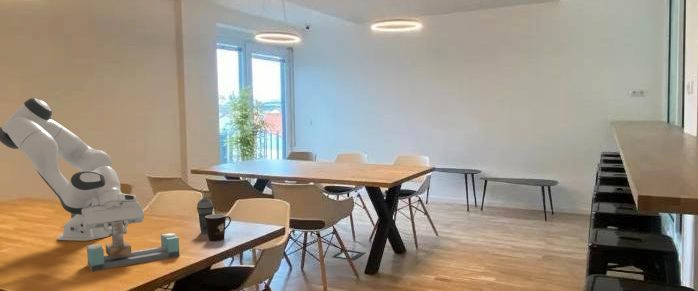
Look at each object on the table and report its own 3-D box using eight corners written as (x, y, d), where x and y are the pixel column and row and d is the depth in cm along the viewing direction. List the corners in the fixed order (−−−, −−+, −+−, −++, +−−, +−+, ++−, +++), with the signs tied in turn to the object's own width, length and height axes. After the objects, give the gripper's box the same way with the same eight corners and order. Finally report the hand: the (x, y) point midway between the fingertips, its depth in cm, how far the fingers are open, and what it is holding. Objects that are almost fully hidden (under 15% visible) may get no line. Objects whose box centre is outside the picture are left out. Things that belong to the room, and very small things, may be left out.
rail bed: (91, 271, 177) (90, 250, 176) (87, 264, 185) (86, 244, 185) (180, 255, 194) (179, 236, 194) (172, 250, 202) (171, 231, 202)
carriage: (110, 258, 181) (108, 225, 180) (106, 252, 188) (104, 221, 187) (131, 254, 185) (129, 223, 184) (126, 249, 192) (124, 219, 191)
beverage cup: (209, 234, 227) (207, 190, 225) (194, 234, 228) (192, 189, 227) (217, 230, 234) (215, 187, 232) (202, 230, 235) (200, 187, 234)
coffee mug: (208, 242, 213) (207, 219, 212) (204, 238, 220) (203, 215, 220) (236, 239, 218) (235, 215, 217) (231, 234, 226) (230, 212, 225)
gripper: (81, 201, 185) (86, 233, 177) (140, 195, 196) (148, 224, 189) (80, 212, 189) (85, 243, 181) (138, 205, 200) (145, 234, 193)
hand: (117, 233), depth 185 cm, fingers closed on carriage, 3 cm apart
